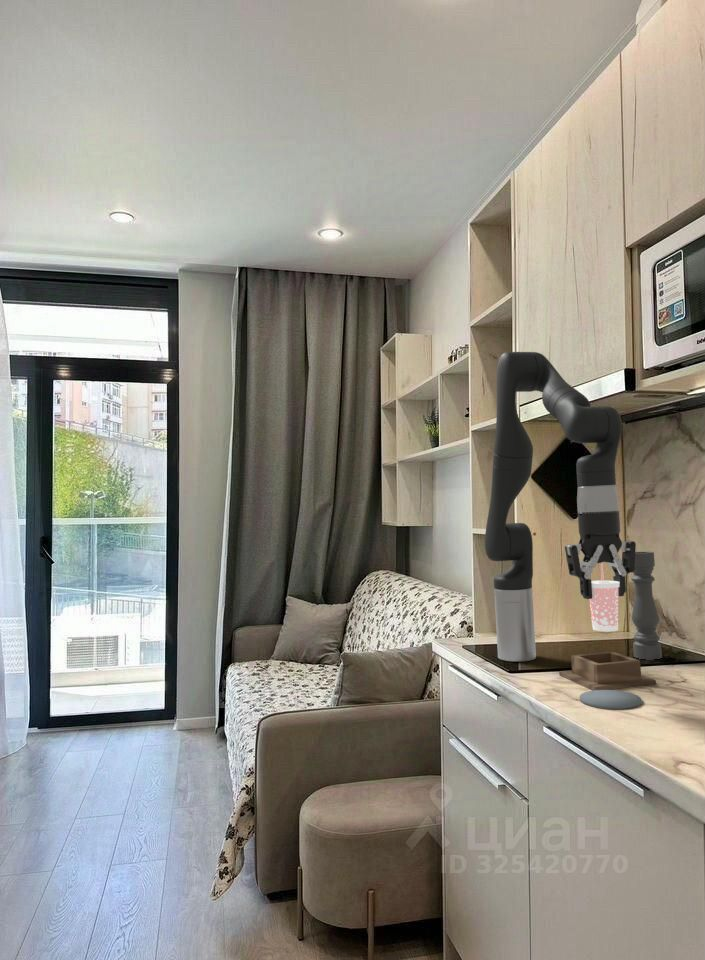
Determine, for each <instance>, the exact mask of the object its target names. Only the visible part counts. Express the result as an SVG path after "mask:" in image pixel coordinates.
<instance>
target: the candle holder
mask: <svg viewBox="0 0 705 960" xmlns="http://www.w3.org/2000/svg"><path fill="white" fill-rule="evenodd" d="M655 564H656V563H655V552H654V551H635V570H634V572H632V573H633V576H631V577H630V580H631V581H632V582H633V584H634V600H633V607H632V612H631V620H632V623H633V625H634V626H635V630H637V631H636V632H635V634H634V635H633V639H634V640H635V641H634V642H633V643H632V644H633V646H632V648H633V658H634V657H636V658H639V659H638V660H640V659H646V660H645V661H655V660H654V659H660V658H662V659H663V655H662V652H663V651H662V643H661V642H659V641H660V639H661V638H660V636H659V635H658V634H657V632H656V630H657V628H656V627H657V626H658V625H659V622H660V616H659V612H658V609H657V605H656V603H655V600H654V596H653V582H654V581H655V577H654V576H653V575H652V573H653V571H654V569H655V568H654V567H655V566H656V565H655ZM636 658H635V659H636ZM660 660H661V659H660Z"/></svg>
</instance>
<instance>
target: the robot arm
mask: <svg viewBox="0 0 705 960" xmlns="http://www.w3.org/2000/svg"><path fill="white" fill-rule="evenodd" d="M524 392H525V393H526V392H528V393H530V392H540V393H542V395H541V398H542V404H543V406H544V409H546V411H547V412H548V413H549V414H550V415H551V416H553V417H554V418H555V419H556V420H557V421H559V424H560V426H561V428H562V430H563V432H564V435H565V437H566V438H567V440H569V441H571V442H574V443H577V444H596V445H595V448H594V450H593V453H592V454H589V455H585V456H584V455H583V456H581V457H580V458H578V459H577V460H576V463H575V465H576V484H577V496H576V504H577V505H576V506H577V509H576V510H577V522H578V534H579V537H580V538H579V541H578V543H575V544H566V545H565V546H564V551H565V557H566V563H567V568H568V574H569V575H570V576H573V577H577V578H578V579H579V591H580V595H581V596H582V597H583V599H586V600H589V599H592V583H591V581H592V579H591V576H592V573H593V570H594V569H595V568H596V567H597V564H600V563H602V562H603V563H606V564H607V565H608V567H609V568H610V569H611V571H612V573H613V574H614V575H613V576H612V577H613V578H612V579H613V580H612V581H618V582H620V584H619V586H620V587H618V597H624V596H625V593H626V592H627V586H626V585H627V584H626V576H627V575H628V574H630V573H633V572H634V570H635V552H636V549H637V548H636V547H637V543H636V541H633V540H624V541H622V540H621V537H620V533H621V521H620V520H621V519H620V504H619V502H620V501H619V494H618V490H617V482H616V467H615V466H616V460H617V455H618V449H619V444H620V440H621V436H622V430H623V423H622V422H623V421H622V418H621V417H622V416H621V415H620V413H619V412H618V410H617V409H615V408H614V407H613V406H604V405H603V406H591V402H590V401H589V399H588V398H587V396H585V395H584V394H583V393H581V392H580V390H577V389H576V388H574V387H573V386H572V385H570V384H569V383H568V382H567V381H566V380H564V378H563V376H561V374H560V373H559V372H558V370H557V369H556V368H555V367H554V365H553V364H552V363H551V361H550V360H549V359H548V358H547V357H546V356H545V355H544V354H542V353H540V352H537V351H506V352H504V353H503V354H501V355H500V357H499V359H498V363H497V368H496V421H495V422H496V424H495V434H494V445H493V446H494V447H493V455H492V471H491V472H492V474H491V475H492V476H491V490H490V499H489V500H490V501H489V508H488V513H487V514H488V515H487V519H486V527H485V533H484V550H485V555H486V556H487V558H488V559H489V560H490V561H492V562H505V561H512V563H511V565H510V567H509V568H508V569H507V570H506V571H504V572H500V573H499V574H498V575H496V576H494V578H493V591H494V595H493V596H494V609H495V625H496V626H495V629H496V645H497V646H496V647H497V658H498V659H499V660H502V661H506V662H528V661H533V660H535V659H537V651H536V649H537V648H536V630H535V615H534V614H535V613H534V599H533V597H534V595H533V576H534V566H533V565H534V562H533V561H534V558H533V557H534V553H533V552H534V549H533V548H534V547H533V546H534V544H533V535H532V531H531V529H530V528H529V526H528V525H527V524H526V523H524V522H510V523H507V519H508V515H509V512H510V509H511V506H512V505H513V503H514V501H515V500H516V498H517V497H518V495H520V493H521V492H522V491H523V489H524V487H525V486H526V484H527V482H528V481H529V479H530V477H531V474H532V466H533V457H534V447H533V443H532V440H531V437H530V435H529V434H528V432H527V430H526V429H525V427H524V426H523V424H522V421H521V419H520V417H519V414H518V412H517V403H516V399H517V397H516V396H517V393H524ZM620 550H621V557H620V554H619V551H620ZM581 553H582V554H583V555H582V558H581V560H580V557H579V555H580V554H581Z"/></svg>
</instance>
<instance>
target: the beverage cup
mask: <svg viewBox="0 0 705 960" xmlns="http://www.w3.org/2000/svg"><path fill="white" fill-rule="evenodd" d="M599 564H600V578H601V580H591V583H592V599H588V600H589V607H590V608H589V609H590V614H591V615H590V616H591V617H590V618H591V626H592V630H593V631H596V632H605V633H606V632H608V633H609V632H617V631H619V596H618V587H620V586H619V584H620V582H618V581H614V580H608V579H607V580H605V577H604V576H605V574H604V562H602V563H599Z"/></svg>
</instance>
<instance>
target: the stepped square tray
mask: <svg viewBox="0 0 705 960" xmlns="http://www.w3.org/2000/svg"><path fill="white" fill-rule="evenodd" d="M570 657H571V661H570V662H571V669H570V670H561V671H558V673H559V676H561V677H563V678H565V679H567V680H569V681H572V682H574V683H576V684H578V685H580V686H582V687H585V688H588V689H589V690H590V691H593V690H617V689H624V688H634V687H643V686H651V685H657V679H655V678H651V677H649V676H646V675H643V674H642V669H641V667H642V666H641V660H640V659H636V658H634V657H630V656H627V655H624V654H621V653H619V652H616V651H615V652H614V651H604V652H603V651H602V652H593V653H583V654H575V655H571V656H570Z"/></svg>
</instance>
